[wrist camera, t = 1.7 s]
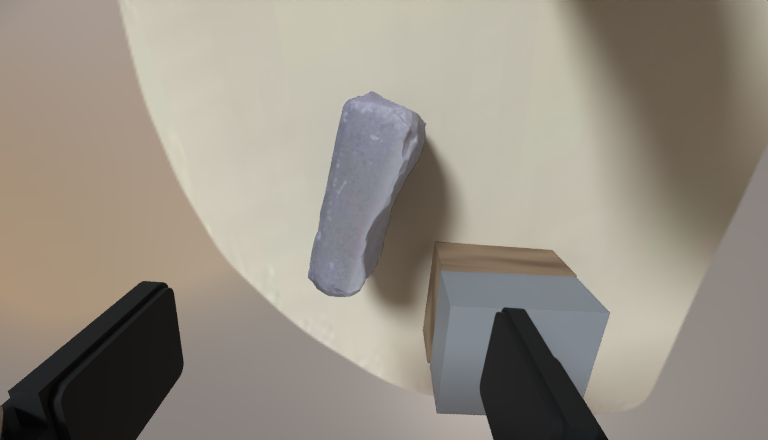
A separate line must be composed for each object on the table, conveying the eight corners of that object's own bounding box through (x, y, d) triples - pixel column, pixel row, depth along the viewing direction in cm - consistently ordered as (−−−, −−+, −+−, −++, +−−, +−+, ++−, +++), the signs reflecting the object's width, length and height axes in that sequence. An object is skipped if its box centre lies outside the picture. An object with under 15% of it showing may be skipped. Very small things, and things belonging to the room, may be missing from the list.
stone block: (360, 84, 27) (345, 88, 17) (423, 105, 27) (442, 119, 18) (321, 230, 31) (292, 296, 21) (376, 245, 31) (372, 317, 22)
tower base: (434, 240, 31) (441, 265, 27) (551, 248, 31) (576, 275, 27) (422, 328, 34) (427, 362, 30) (528, 335, 35) (548, 370, 30)
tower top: (440, 270, 27) (450, 305, 23) (575, 276, 27) (609, 312, 23) (429, 366, 30) (436, 413, 26) (550, 371, 30) (576, 418, 26)
